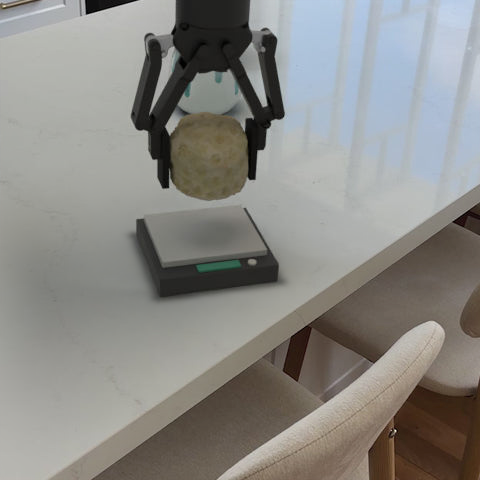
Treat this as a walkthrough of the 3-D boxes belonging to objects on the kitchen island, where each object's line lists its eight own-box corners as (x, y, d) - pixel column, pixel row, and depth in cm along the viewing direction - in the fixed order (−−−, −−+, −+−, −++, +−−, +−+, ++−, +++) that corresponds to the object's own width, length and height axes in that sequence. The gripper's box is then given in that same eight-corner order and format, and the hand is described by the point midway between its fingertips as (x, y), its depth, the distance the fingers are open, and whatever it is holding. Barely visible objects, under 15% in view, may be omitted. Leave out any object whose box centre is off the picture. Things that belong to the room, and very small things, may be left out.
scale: (159, 297, 99) (159, 273, 97) (136, 235, 109) (136, 213, 107) (277, 281, 104) (279, 258, 102) (244, 223, 113) (246, 201, 112)
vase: (227, 129, 135) (232, 13, 125) (156, 115, 137) (156, 0, 127) (250, 101, 144) (258, -9, 134) (184, 87, 147) (186, -22, 136)
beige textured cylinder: (248, 198, 106) (236, 114, 105) (262, 192, 96) (248, 100, 95) (170, 208, 104) (157, 124, 103) (177, 204, 94) (162, 111, 94)
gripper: (109, -4, 82) (116, 205, 95) (330, -11, 89) (308, 185, 102) (95, -29, 88) (103, 171, 101) (304, -33, 94) (286, 155, 107)
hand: (206, 178), depth 101 cm, fingers closed on beige textured cylinder, 9 cm apart
